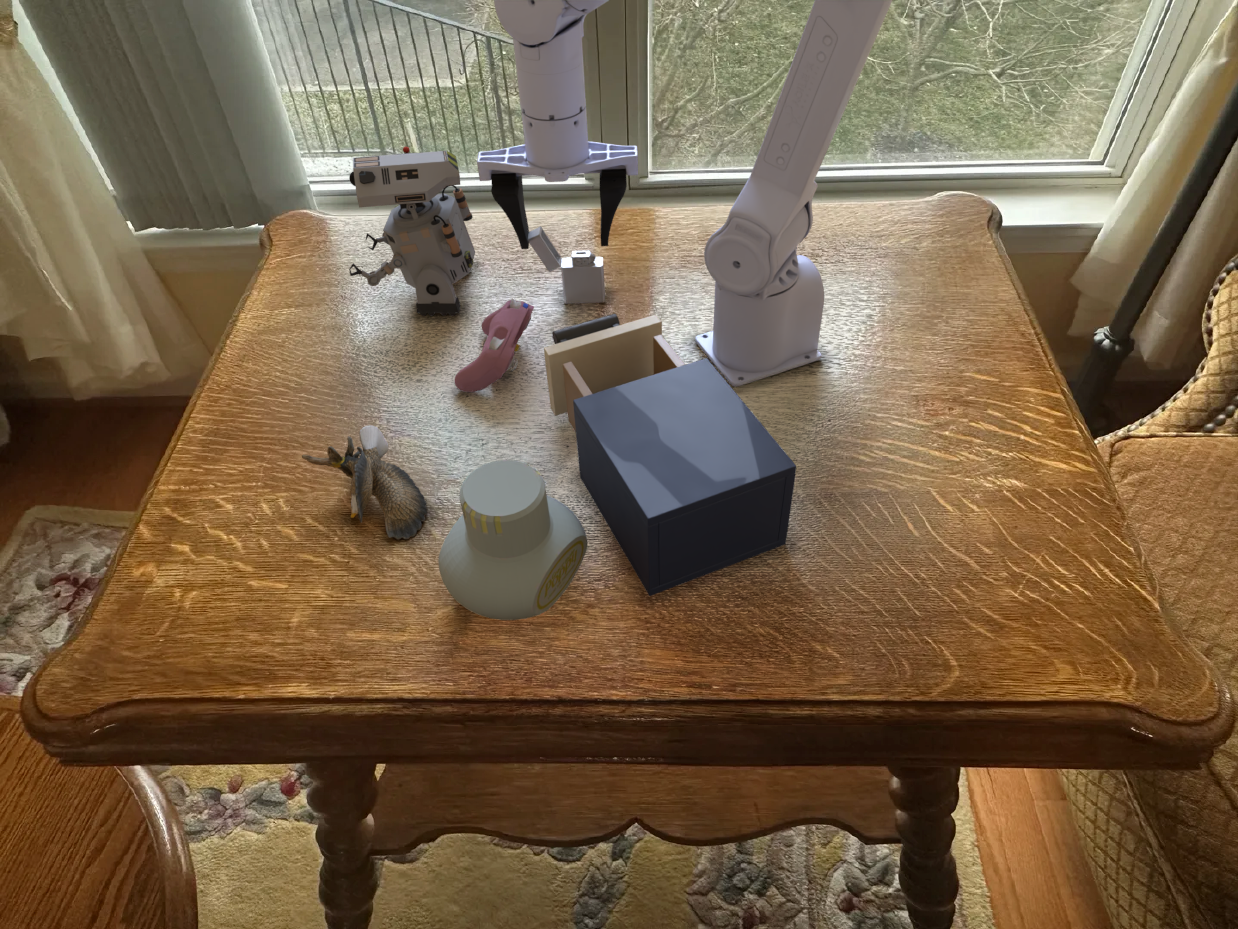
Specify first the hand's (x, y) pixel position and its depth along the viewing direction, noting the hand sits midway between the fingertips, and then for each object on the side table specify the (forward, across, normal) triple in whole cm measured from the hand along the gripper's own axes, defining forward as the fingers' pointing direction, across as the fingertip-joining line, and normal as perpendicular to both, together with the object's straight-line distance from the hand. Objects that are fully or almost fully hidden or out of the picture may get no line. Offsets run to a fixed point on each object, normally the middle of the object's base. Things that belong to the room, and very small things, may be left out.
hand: (565, 242), depth 92 cm
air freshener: (+7, -3, -36) cm, 37 cm away
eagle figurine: (+7, -15, -28) cm, 33 cm away
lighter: (+7, 0, 0) cm, 7 cm away
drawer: (+6, +5, -20) cm, 21 cm away
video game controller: (+7, -6, -10) cm, 14 cm away
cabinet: (+7, +10, -30) cm, 32 cm away
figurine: (+7, -15, +2) cm, 17 cm away
